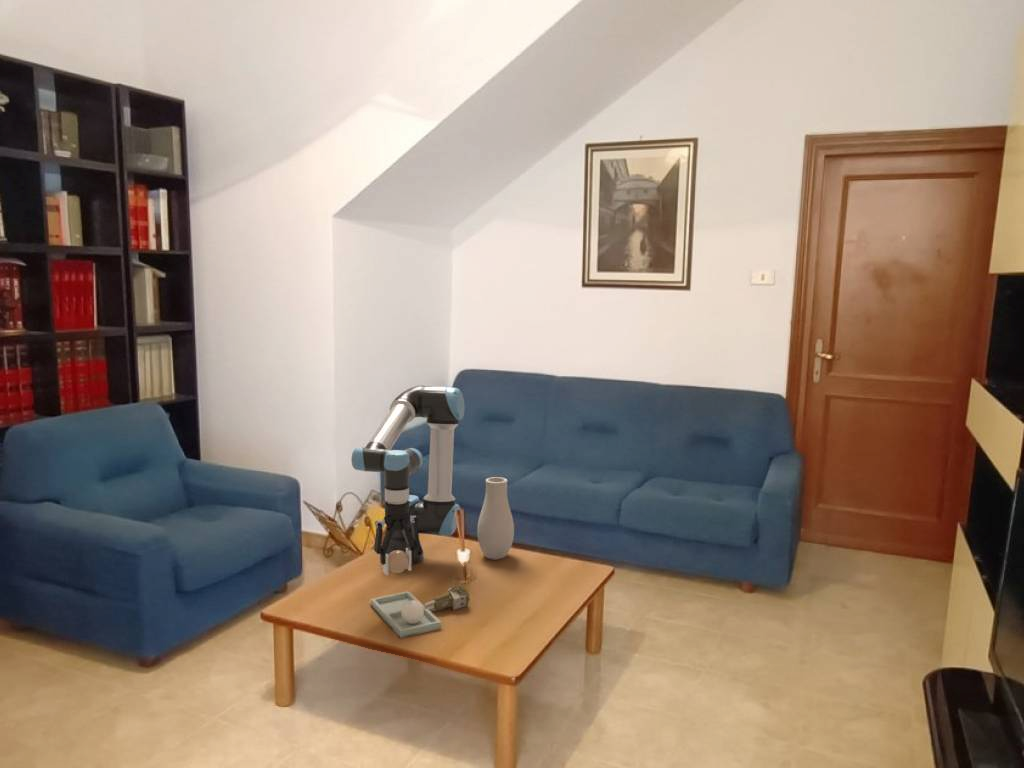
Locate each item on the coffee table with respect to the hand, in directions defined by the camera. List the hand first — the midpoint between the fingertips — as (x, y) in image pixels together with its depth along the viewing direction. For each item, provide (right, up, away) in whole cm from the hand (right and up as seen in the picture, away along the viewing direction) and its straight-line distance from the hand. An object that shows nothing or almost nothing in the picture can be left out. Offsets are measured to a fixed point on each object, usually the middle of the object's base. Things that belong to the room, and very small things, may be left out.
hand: (397, 571), depth 242 cm
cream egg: (+6, -14, -8) cm, 17 cm away
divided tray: (+3, -13, -3) cm, 14 cm away
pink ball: (0, 0, 0) cm, 0 cm away
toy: (+15, -13, +3) cm, 20 cm away
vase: (+30, -6, +47) cm, 56 cm away
